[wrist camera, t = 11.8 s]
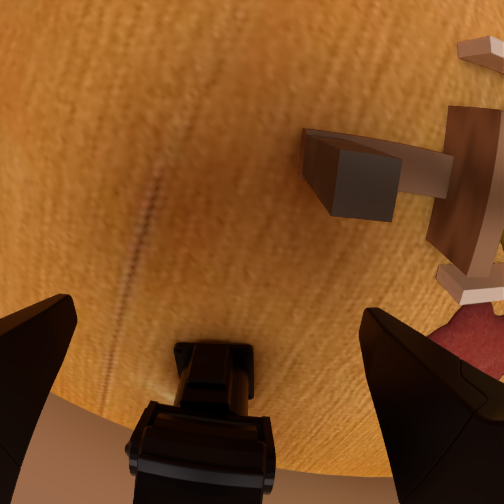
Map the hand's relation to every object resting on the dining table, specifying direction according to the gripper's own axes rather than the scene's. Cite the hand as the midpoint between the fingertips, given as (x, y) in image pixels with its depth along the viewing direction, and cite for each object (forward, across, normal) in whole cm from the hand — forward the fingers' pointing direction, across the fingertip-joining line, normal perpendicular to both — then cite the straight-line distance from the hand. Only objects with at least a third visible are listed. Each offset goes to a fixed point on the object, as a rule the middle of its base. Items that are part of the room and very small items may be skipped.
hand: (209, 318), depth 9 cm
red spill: (+14, -24, +16) cm, 32 cm away
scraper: (+13, -10, -3) cm, 17 cm away
